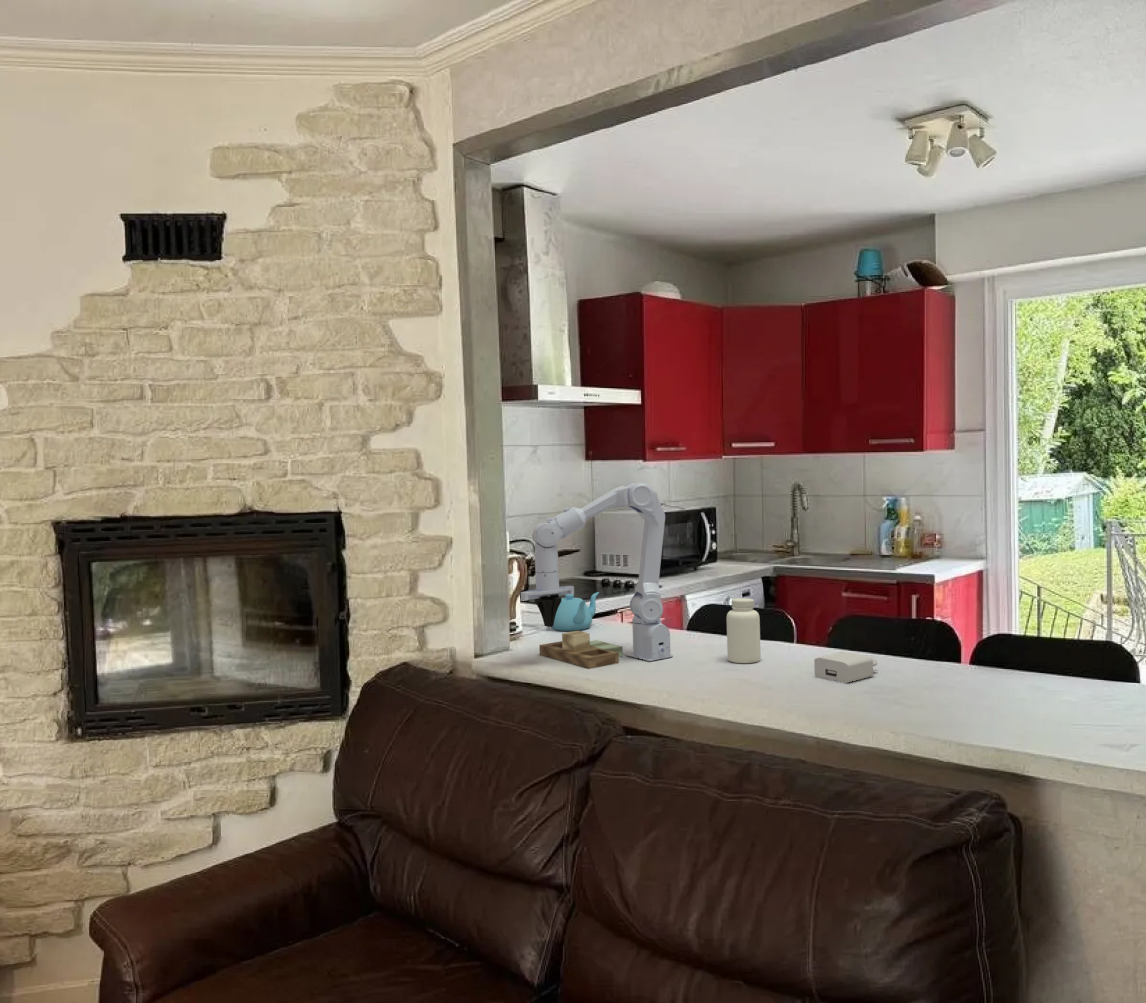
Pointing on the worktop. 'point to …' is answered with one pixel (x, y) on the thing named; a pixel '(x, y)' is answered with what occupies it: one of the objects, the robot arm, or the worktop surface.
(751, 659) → the pill bottle
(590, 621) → the teapot
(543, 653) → the tray
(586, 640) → the birch block
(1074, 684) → the worktop surface
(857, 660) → the charger
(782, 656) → the worktop surface
